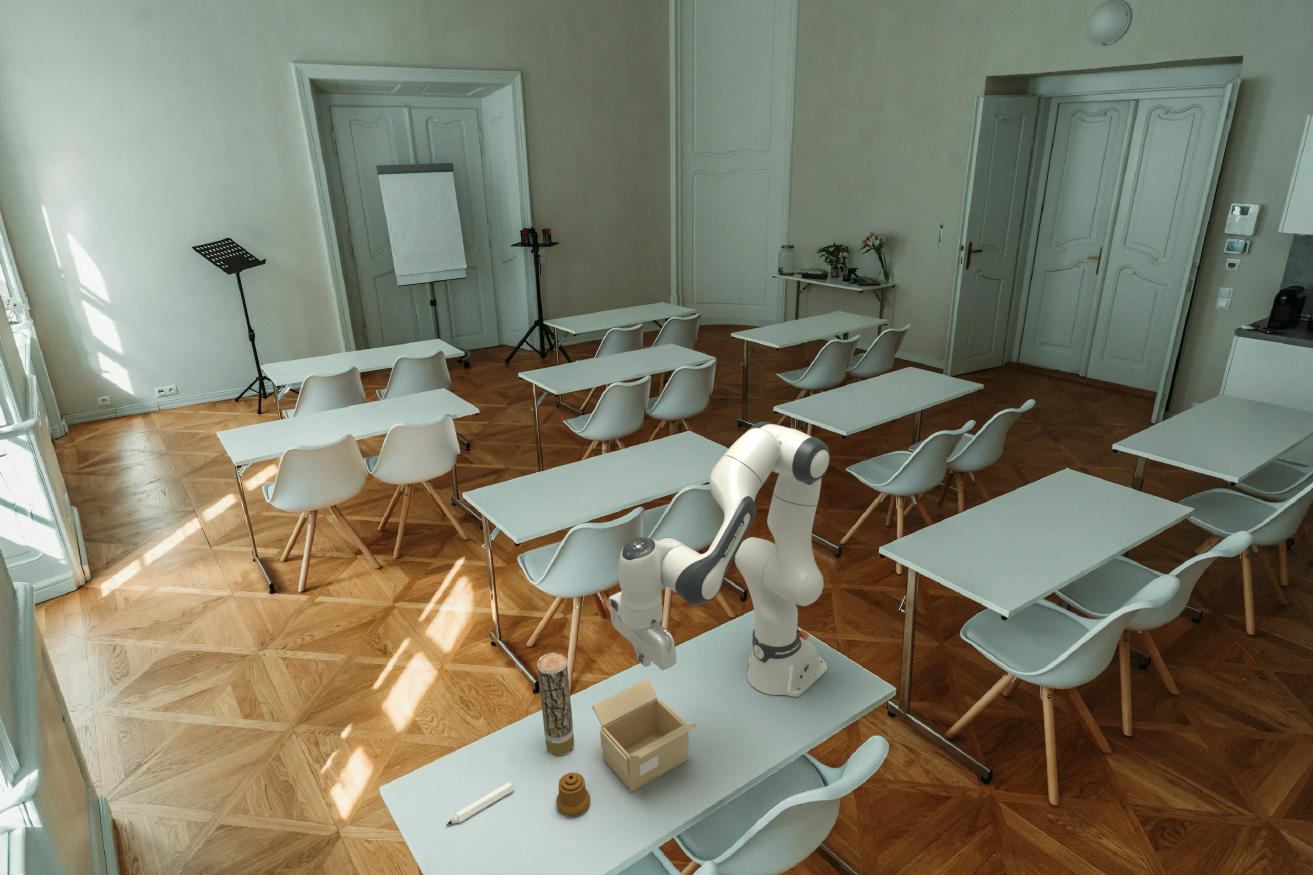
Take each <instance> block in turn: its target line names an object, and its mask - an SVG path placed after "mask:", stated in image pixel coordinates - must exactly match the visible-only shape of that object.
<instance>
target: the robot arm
mask: <svg viewBox="0 0 1313 875" xmlns="http://www.w3.org/2000/svg"><path fill="white" fill-rule="evenodd" d="M830 452H831V451H830V450H829V447H828V445H827V443H825V441H824V442H823V441H822V440H820V438H818V437H815V436H811V435H809V434H807V433H805V432H803V431H800V430H798V429H795V428H792V427H791V428H790V427H788V426H787V427H786V426H783V425H778V424H776V423H774V422H769V421H760V422H757V423H754V424H753V425H752V426H751V427H749V428H748V430H747V431H746V432H745V433H743V434H742V435H741V436H740V437H738V439H736V441H735V442H734V443H733V444H732V445H731V446H730V447H729V448H728V449H727V450H726V452H725V453H724V454H723V455H722V456H721V458H720V459H719V460H718V462H717V463H716V464H715V466H713V469H712V470H711V472H710V475H709V479H708V480H709V482H708V483H709V489H710V492H711V494H712V496H713V499H714V500H715V501H716V503H717V504H718V505H719V506H720V508H721V509H722V511H723V515H724V519H723V523H722V525H721V527H720V529H719V530H718V532H717V534H716V536H715V537H714V539H713V541H712V543H711V544H710V547H709V548H708V550H707V551H705V552H704V553H699V552H698V551H696V550H694V549H693V548H691V547H689V546H688V545H687V544H684V543H683V542H681V541H680V540H677V539H675V538H672V537H663V538H660V539H657V540H654V539H652V538H650V537H645V536H642V537H636V538H633V539H631V540H629V541H627V542H626V543H625V544H624V545H623V546H622V548H621V551H620V554H619V560H618V582H619V587H620V590H621V591H619V592H616V593H615V594H612V595H611V596H609V597H608V604H609V606H610V607H609V610H610V619H611V620H610V621H611V623H612V625H613V626H612V627H613V628H614V629H615V630H616V631H617V632H619V633H620V634H621V635H622V636H623V637H624V638H626V640H627V641H628V642H630V643H631V644H632V647H633V649H634V651H635V654H636V660H637V662H638V663H640V664H641V665H642V667H644V668H647V667H649V666H651V665H652V663H653V664H654V665H655V666H656V667H658V669H660V670H661V671H666V670H668V669H670V668H672V667H674V665H676V664H677V651H676V645H675V639H674V637H673V635H672V634H671V633H670V631H668V629H667V628H665V627H663V626H662V625H661V622H662V619H663V597H662V591H663V590H664V589H666V588H668V589H669V590H671V591H673V592H674V593H675V594H677V595H678V596H679V597H680V598H682V599H683V600H684V601H685V602H686V603H688V604H689V605H690V606H699V605H703V604H706V603H709V602H710V601H712V600H714V599H715V598H716V597H717V595H718V594H719V592H720V591H721V589H722V586H723V583H724V580H725V577H726V575H727V572H728V570H729V568H730V566H731V565H732V562H733V560H734V563H735V566H736V568H737V569H738V570H739V572H740V573H741V575H742V577H743V579H744V581H745V583H746V586H747V588H748V591H749V595H750V598H751V601H752V605H753V614H754V615H753V616H754V617H753V618H754V620H753V622H754V628H753V630H752V636H751V639H752V640H751V644H752V647H751V651H750V656H749V657H748V669H747V673H746V678H747V681H748V683H749V684H750V685H751V686H752V687H753V688H754V689H756V691H758V692H760V693H763V694H766V695H772V696H789V697H791V698H792V697H794V698H799V697H801V695H803V694H804V692H806V691H807V690H808V689H809V688H811V687H812V685H814V683H815V682H817V681H818V680H819V679H820V678H821V677H822V676H823V675H824V674H826V673H827V671H828V665H827V663H826V661H825V660H824V659H823V658H822V657H821V656H820V655H819V652H818V649H817V648H816V647H815V645H813V643H811V642H810V641H809V640H808V638H809V637H810V636H809V635H810V634H809V633H808V632H807V631H805V630H804V629H802V630H800V629H799V628H798V617H799V612H798V608H797V605H798V606H802V607H807V606H810V605H811V604H813V603H815V602H816V601H817V600H818V599H819V598H820V596H821V594H822V592H823V589H824V577H823V574H822V573H821V571H820V568H819V567H818V565H817V562H816V560H815V556H814V551H813V544H812V531H813V527H814V520H815V515H816V510H817V507H818V503H819V499H820V493H821V486H822V478H823V477H824V476H825V474H826V473H827V471H828V469H829V466H830V463H831V454H830ZM772 472H773V473H775V474H778V476H777V479H776V482H775V485H774V489H773V493H772V497H771V503H770V505H769V511H768V515H767V518H766V521H767V522H766V524H767V526H768V529H769V531H770V533H771V534H772V536H773V538H774V542H772V541H769V540H766V539H763V538H760V537H754V536H750V537H748V538H746V536H747V534H748V532H749V531H750V528H751V526H752V524H753V522H754V520H755V517H756V514H757V504H756V503H755V500H756V497H757V496H758V495H757V494H758V493H759V490H761V488H762V486H763V485H764V483H765V482H766V481H767V480H768V479H769V476H770V475H771V473H772ZM745 538H746V539H745Z"/></svg>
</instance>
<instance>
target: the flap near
mask: <svg viewBox="0 0 1313 875" xmlns="http://www.w3.org/2000/svg"><path fill="white" fill-rule="evenodd" d="M697 727H698V725H697V724H696V723H687V724H685V725H683V726H681V727H679V728H677V729H676V730H674V731H672V732H670V733H668V734H666V735H665V736H663V737H661V738H659V739H657V740H656V741H654V742H652V743H650V744H648V745H646V746H645V747H643V748H641V749H639V750H637V751H636V752H634V753H632V754H630V755H629V756H630V757H632V758H641V757H643V756H645V755H647V754H649V753H650V752H652V751H654V750H656V749H658V748H659V747H661V746H663V745H665V744H667V743H668V742H670V741H672V740H674V739H675V738H677V737H679V736H681V735H683V734H684V733H686V732H688V733H689V731H691V730H693V729H695V728H697Z"/></svg>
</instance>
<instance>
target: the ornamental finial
mask: <svg viewBox="0 0 1313 875" xmlns="http://www.w3.org/2000/svg"><path fill="white" fill-rule="evenodd" d="M590 803H591V795H590V793H589V791H588V790H587V788H586V782H585V778H584V776H583V775H582V774H580V773H579V772H573V771H571V772H568V773H565V774H564V775H562V776H561V777H560V778H559V780H558V794H557V795H556V800H555V804H556V808H557V810H558V812H560V813H561V814H562V815H564V816H566V817H577V816H580V815H582V814H584V813H585V812H586V811H587V810H588V808H589V806H590Z"/></svg>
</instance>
